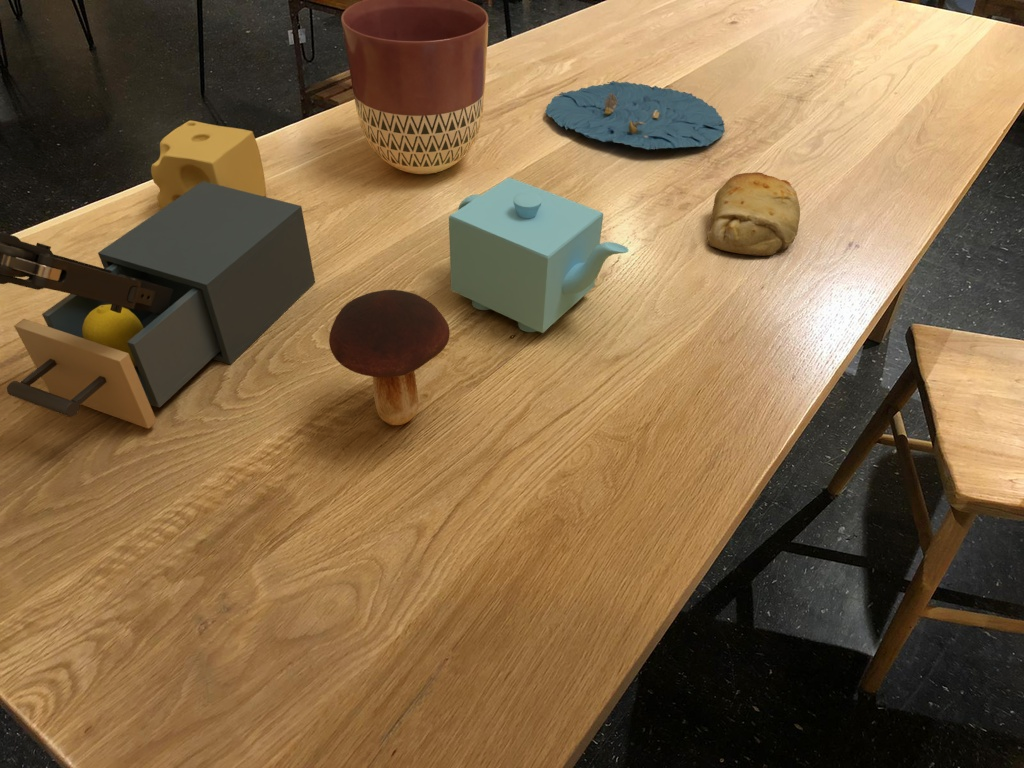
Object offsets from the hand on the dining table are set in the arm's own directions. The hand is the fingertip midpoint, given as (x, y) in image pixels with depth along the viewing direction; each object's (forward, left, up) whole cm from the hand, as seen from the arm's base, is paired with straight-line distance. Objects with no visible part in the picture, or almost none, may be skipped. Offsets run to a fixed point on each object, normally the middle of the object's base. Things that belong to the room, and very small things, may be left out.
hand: (135, 292), depth 76 cm
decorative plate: (+30, +81, -10) cm, 87 cm away
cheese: (-15, +29, -10) cm, 34 cm away
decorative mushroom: (+27, +3, -10) cm, 29 cm away
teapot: (+33, +26, -10) cm, 43 cm away
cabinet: (0, +11, -9) cm, 14 cm away
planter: (+5, +52, -10) cm, 53 cm away
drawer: (0, -4, -9) cm, 9 cm away
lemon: (0, -4, -8) cm, 9 cm away
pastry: (+54, +53, -10) cm, 76 cm away
